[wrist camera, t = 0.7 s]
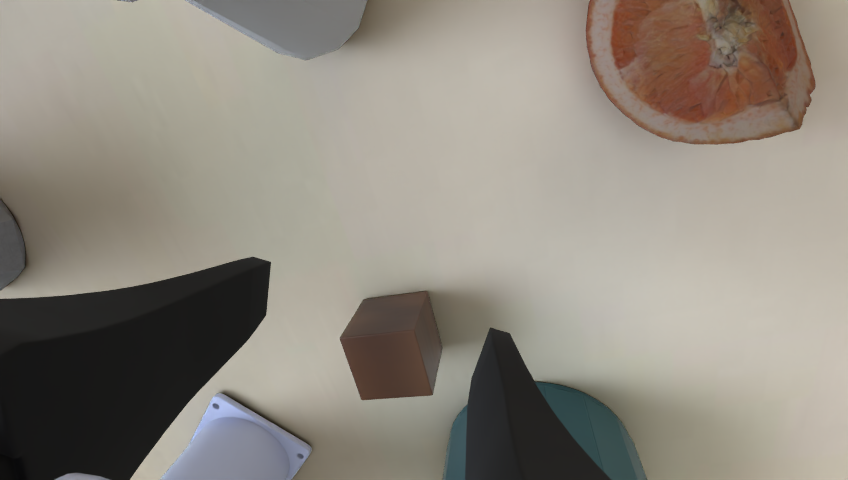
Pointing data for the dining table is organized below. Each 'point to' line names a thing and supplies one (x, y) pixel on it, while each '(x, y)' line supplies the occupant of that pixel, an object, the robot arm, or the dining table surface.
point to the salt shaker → (290, 22)
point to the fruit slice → (702, 66)
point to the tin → (584, 423)
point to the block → (393, 346)
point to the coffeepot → (10, 248)
